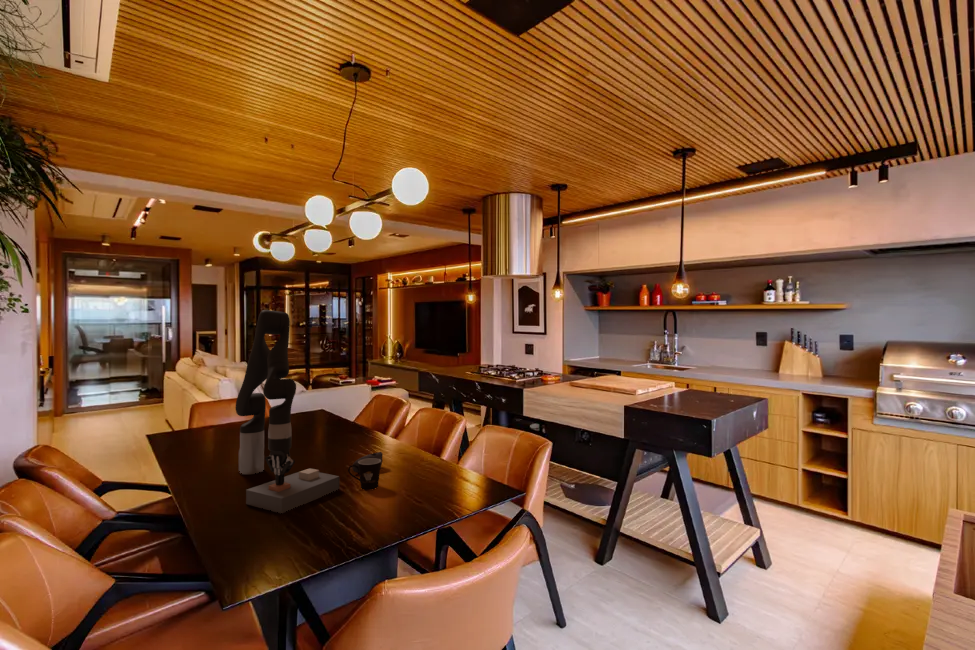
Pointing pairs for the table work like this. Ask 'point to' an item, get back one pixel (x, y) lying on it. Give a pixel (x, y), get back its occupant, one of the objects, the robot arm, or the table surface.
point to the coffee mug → (368, 473)
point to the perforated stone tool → (374, 455)
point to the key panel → (291, 492)
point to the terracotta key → (279, 487)
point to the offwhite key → (308, 474)
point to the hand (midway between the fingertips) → (279, 484)
